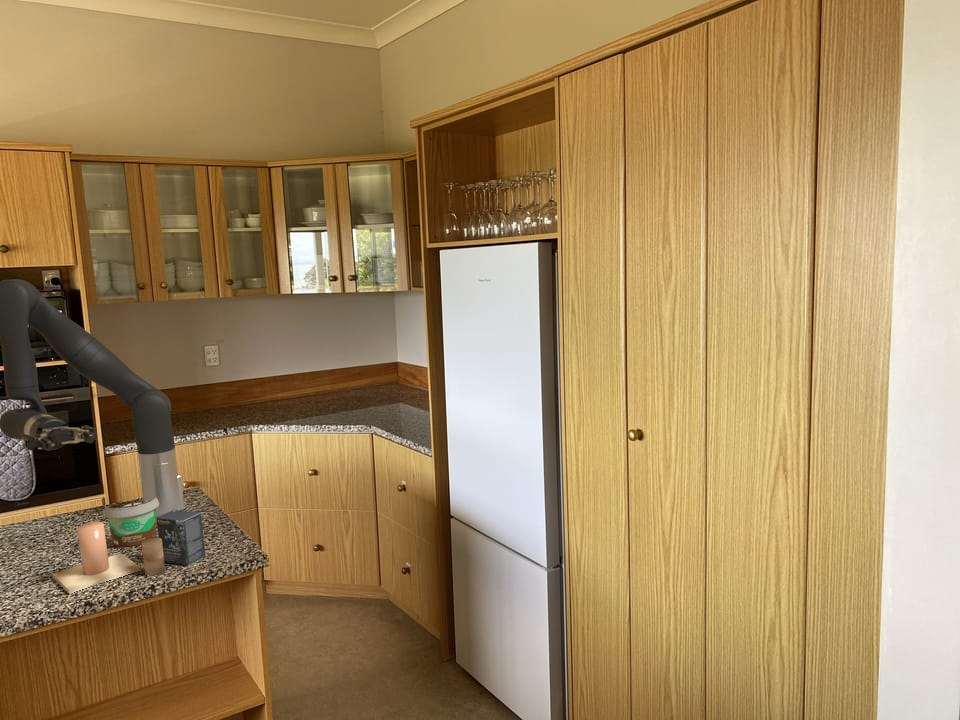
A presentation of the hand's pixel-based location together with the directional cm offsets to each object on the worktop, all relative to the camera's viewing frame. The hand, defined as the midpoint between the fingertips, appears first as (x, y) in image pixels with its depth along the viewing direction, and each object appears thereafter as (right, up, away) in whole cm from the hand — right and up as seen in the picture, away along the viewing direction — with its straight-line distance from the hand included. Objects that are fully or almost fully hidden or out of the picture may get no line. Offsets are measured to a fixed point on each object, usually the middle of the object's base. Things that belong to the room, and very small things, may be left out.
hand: (71, 442), depth 159 cm
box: (+25, -27, +1) cm, 36 cm away
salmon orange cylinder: (+8, -27, -5) cm, 29 cm away
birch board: (+8, -28, -5) cm, 30 cm away
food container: (+9, -26, +12) cm, 30 cm away
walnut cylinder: (+21, -28, -5) cm, 35 cm away
